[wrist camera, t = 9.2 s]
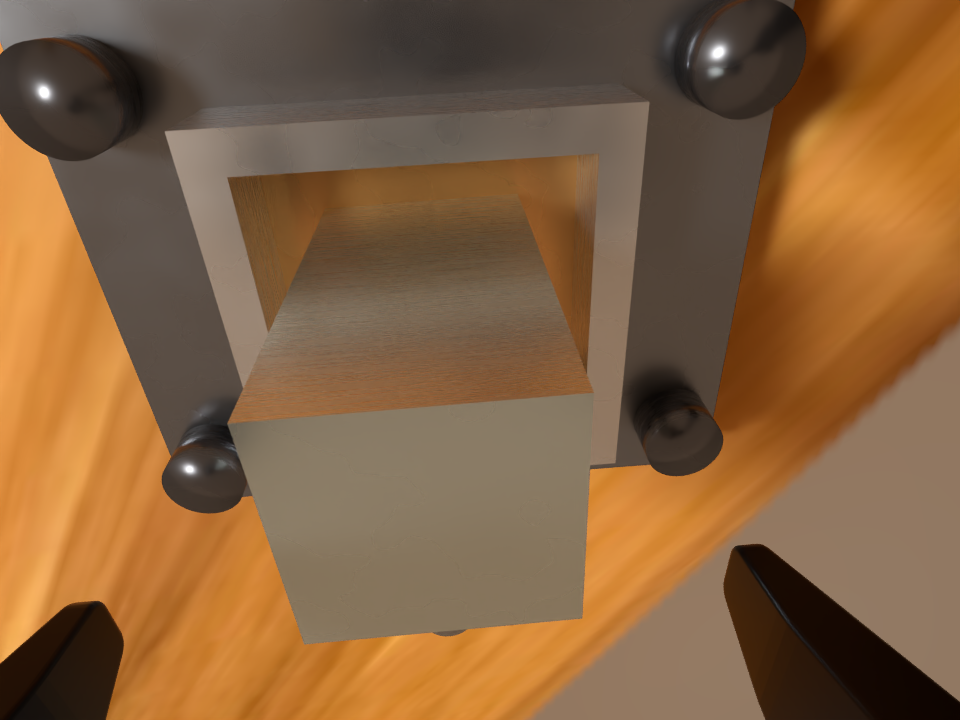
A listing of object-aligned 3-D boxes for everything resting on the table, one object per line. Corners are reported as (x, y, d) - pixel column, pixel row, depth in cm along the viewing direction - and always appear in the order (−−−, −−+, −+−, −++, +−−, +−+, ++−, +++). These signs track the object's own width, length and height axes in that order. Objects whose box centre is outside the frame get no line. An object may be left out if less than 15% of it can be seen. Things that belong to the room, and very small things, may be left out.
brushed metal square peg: (517, 193, 16) (593, 392, 8) (522, 396, 20) (579, 666, 12) (325, 208, 16) (227, 423, 8) (364, 409, 19) (320, 691, 12)
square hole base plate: (764, -47, 15) (871, -53, 12) (685, 424, 23) (733, 512, 20) (32, -7, 15) (-105, 0, 11) (207, 462, 23) (162, 559, 19)
